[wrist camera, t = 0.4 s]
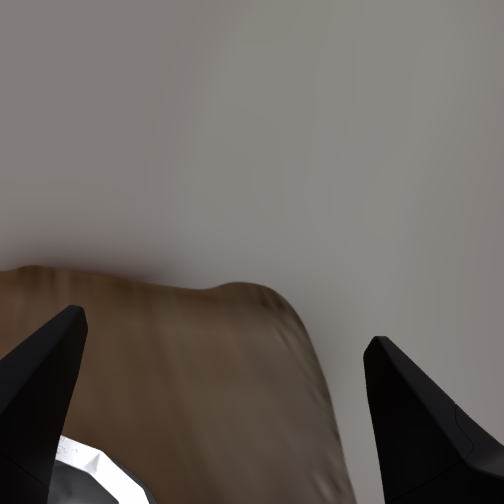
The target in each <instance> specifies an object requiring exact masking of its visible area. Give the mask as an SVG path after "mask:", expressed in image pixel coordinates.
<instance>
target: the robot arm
mask: <svg viewBox="0 0 504 504" xmlns="http://www.w3.org/2000/svg"><path fill="white" fill-rule="evenodd" d="M87 333H88V325H87V321H86V317H85V313H84V309H83V308H82V307H81V306H76V305H69V306H67V307H66V308H65V309H64V310H62V311H61V312H60V313H58V314H57V315H56V316H54V317H53V318H52V319H51V320H49V321H48V322H47V323H45V324H44V325H43V326H42V327H40V328H39V329H38V330H37V331H35V332H34V333H33V334H32V335H30V336H29V337H28V338H27V339H25V340H24V341H23V342H22V343H20V344H19V345H18V346H17V347H16V348H14V349H13V350H12V351H11V352H9V353H8V354H7V355H6V356H5V357H4V358H2V359H1V360H0V504H47V501H48V495H49V488H50V483H51V478H52V472H53V468H54V463H55V458H56V454H57V450H58V445H59V441H60V437H61V433H62V429H63V425H64V422H65V418H66V414H67V411H68V407H69V404H70V400H71V397H72V394H73V390H74V387H75V384H76V381H77V377H78V373H79V369H80V364H81V359H82V355H83V350H84V346H85V341H86V337H87ZM363 361H364V369H365V379H366V389H367V397H368V404H369V408H370V414H371V419H372V424H373V429H374V435H375V441H376V446H377V452H378V458H379V465H380V471H381V478H382V485H383V491H384V499H385V504H504V446H503V445H502V444H500V443H499V442H498V441H497V440H496V439H495V438H493V437H492V436H491V435H489V433H487V432H486V431H485V430H484V429H483V428H482V427H480V426H479V425H478V424H477V423H476V422H474V420H472V419H471V418H470V417H469V416H468V415H467V414H466V413H465V412H464V411H463V410H462V409H461V408H460V407H459V406H458V405H457V404H455V402H454V401H453V400H452V399H451V398H450V397H449V396H448V395H447V394H446V393H445V392H444V391H443V390H442V389H441V388H440V387H439V386H438V385H437V384H436V383H435V382H434V381H433V380H431V378H429V377H428V376H427V375H426V374H425V373H424V372H423V371H422V370H421V369H420V368H419V367H418V366H417V365H416V364H415V363H414V362H413V361H412V360H411V359H410V358H409V357H408V356H407V355H406V354H405V353H404V352H402V351H401V350H400V349H399V348H398V347H397V346H396V345H395V344H394V343H393V342H392V341H391V340H390V339H389V338H388V337H386V336H375V337H374V338H373V339H372V340H371V342H370V344H369V345H368V347H367V349H366V350H365V352H364V356H363Z"/></svg>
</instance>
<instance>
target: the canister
mask: <svg viewBox="0 0 504 504" xmlns="http://www.w3.org/2000/svg"><path fill="white" fill-rule="evenodd" d="M47 504H157V502H156V500H155V499H154V497H153V496H152V494H151V493H150V491H149V490H148V489H147V488H146V486H145V485H144V484H143V483H142V482H141V481H140V480H139V479H138V478H137V477H136V476H135V475H134V474H133V473H131V472H130V471H129V470H128V469H126V468H125V467H123V466H122V465H120V464H119V463H117V462H116V461H114V460H112V459H110V458H108V457H107V456H106V455H105V454H104V453H103V452H102V451H100V450H97V449H94V448H91V447H89V446H86V445H83V444H81V443H78V442H76V441H73V440H71V439H68V438H66V437H64V436H61V437H60V441H59V445H58V450H57V454H56V458H55V463H54V468H53V472H52V478H51V483H50V488H49V495H48V501H47Z"/></svg>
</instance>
